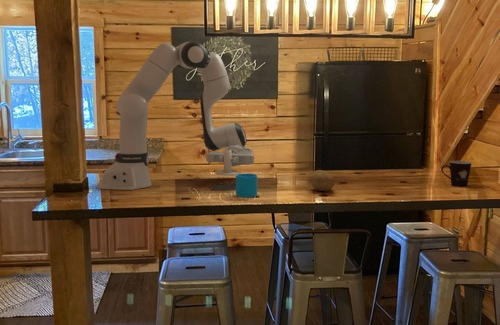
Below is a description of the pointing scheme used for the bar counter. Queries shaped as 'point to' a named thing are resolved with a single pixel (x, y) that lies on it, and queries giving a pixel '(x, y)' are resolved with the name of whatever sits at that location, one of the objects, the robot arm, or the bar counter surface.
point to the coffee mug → (459, 173)
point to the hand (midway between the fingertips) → (227, 160)
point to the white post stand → (227, 165)
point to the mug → (246, 185)
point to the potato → (322, 180)
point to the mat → (223, 187)
